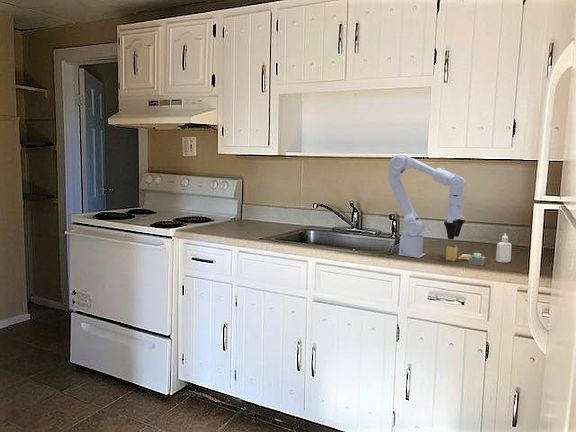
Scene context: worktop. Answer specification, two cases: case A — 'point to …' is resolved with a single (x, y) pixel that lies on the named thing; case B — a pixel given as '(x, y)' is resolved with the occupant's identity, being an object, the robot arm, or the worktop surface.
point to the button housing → (477, 261)
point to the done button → (477, 255)
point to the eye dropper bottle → (503, 250)
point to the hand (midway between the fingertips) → (453, 237)
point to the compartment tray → (465, 257)
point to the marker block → (451, 252)
